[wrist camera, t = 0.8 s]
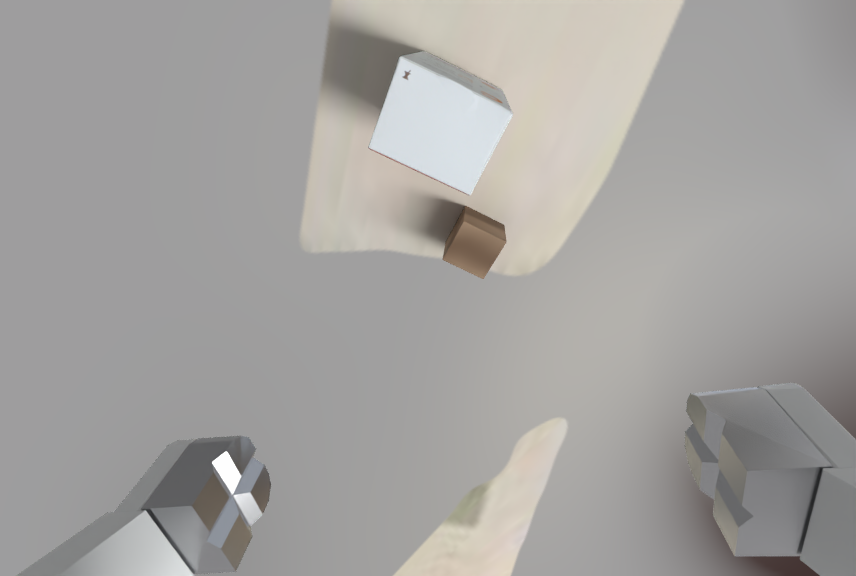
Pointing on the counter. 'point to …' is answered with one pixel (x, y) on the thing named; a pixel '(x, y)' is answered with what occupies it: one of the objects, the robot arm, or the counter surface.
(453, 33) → the counter surface
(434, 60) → the small box
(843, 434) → the robot arm
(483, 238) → the walnut cube
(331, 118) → the counter surface
